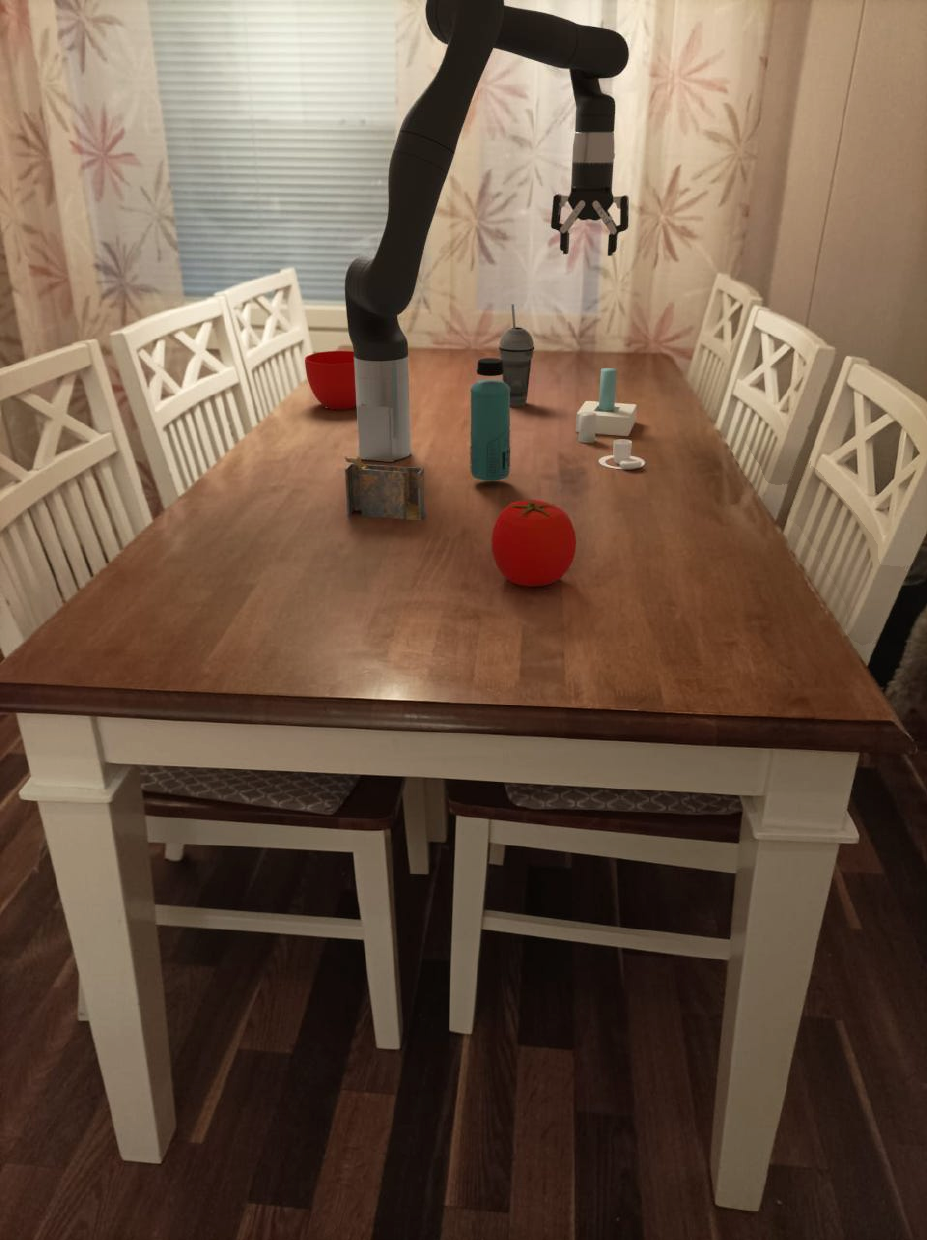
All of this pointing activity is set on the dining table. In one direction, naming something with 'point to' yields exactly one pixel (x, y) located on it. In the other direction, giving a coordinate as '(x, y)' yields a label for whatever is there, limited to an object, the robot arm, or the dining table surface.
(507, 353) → the beverage cup
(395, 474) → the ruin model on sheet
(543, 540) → the tomato
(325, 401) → the ceramic cup
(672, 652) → the dining table surface
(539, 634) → the dining table surface
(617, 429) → the hole block
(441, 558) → the dining table surface
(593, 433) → the short pin
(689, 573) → the dining table surface
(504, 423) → the beverage bottle
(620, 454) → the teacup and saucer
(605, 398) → the long pin
